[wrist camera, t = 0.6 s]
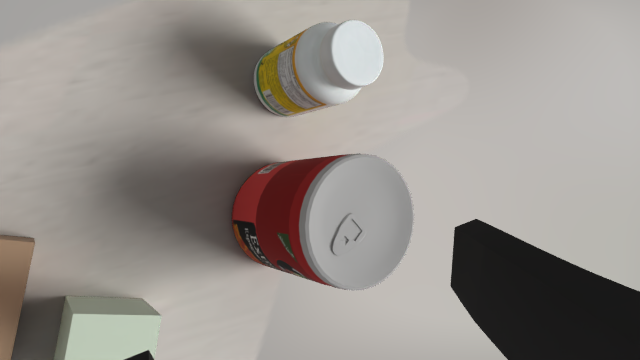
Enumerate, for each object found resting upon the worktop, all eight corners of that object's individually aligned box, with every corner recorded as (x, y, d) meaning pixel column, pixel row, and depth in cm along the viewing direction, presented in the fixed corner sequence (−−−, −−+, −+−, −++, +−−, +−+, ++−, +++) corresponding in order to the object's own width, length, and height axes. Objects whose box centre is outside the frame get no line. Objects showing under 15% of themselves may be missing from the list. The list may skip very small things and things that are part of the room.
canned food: (208, 238, 33) (281, 256, 24) (260, 142, 36) (344, 125, 26) (292, 282, 37) (383, 313, 28) (334, 192, 39) (432, 193, 30)
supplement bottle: (254, 118, 35) (323, 96, 27) (248, 45, 35) (316, 2, 27) (316, 117, 38) (395, 98, 30) (311, 50, 38) (389, 12, 30)
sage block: (130, 369, 31) (147, 398, 26) (51, 372, 28) (56, 404, 24) (142, 298, 31) (161, 315, 27) (65, 295, 29) (73, 313, 24)
